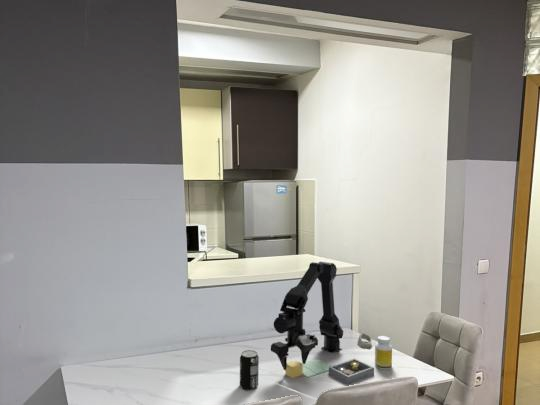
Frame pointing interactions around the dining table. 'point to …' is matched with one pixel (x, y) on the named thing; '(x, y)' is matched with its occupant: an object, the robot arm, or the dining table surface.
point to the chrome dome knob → (341, 369)
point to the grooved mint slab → (306, 368)
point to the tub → (362, 373)
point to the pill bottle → (383, 353)
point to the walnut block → (348, 372)
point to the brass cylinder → (354, 366)
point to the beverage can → (249, 370)
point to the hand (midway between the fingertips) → (294, 366)
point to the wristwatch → (363, 344)
